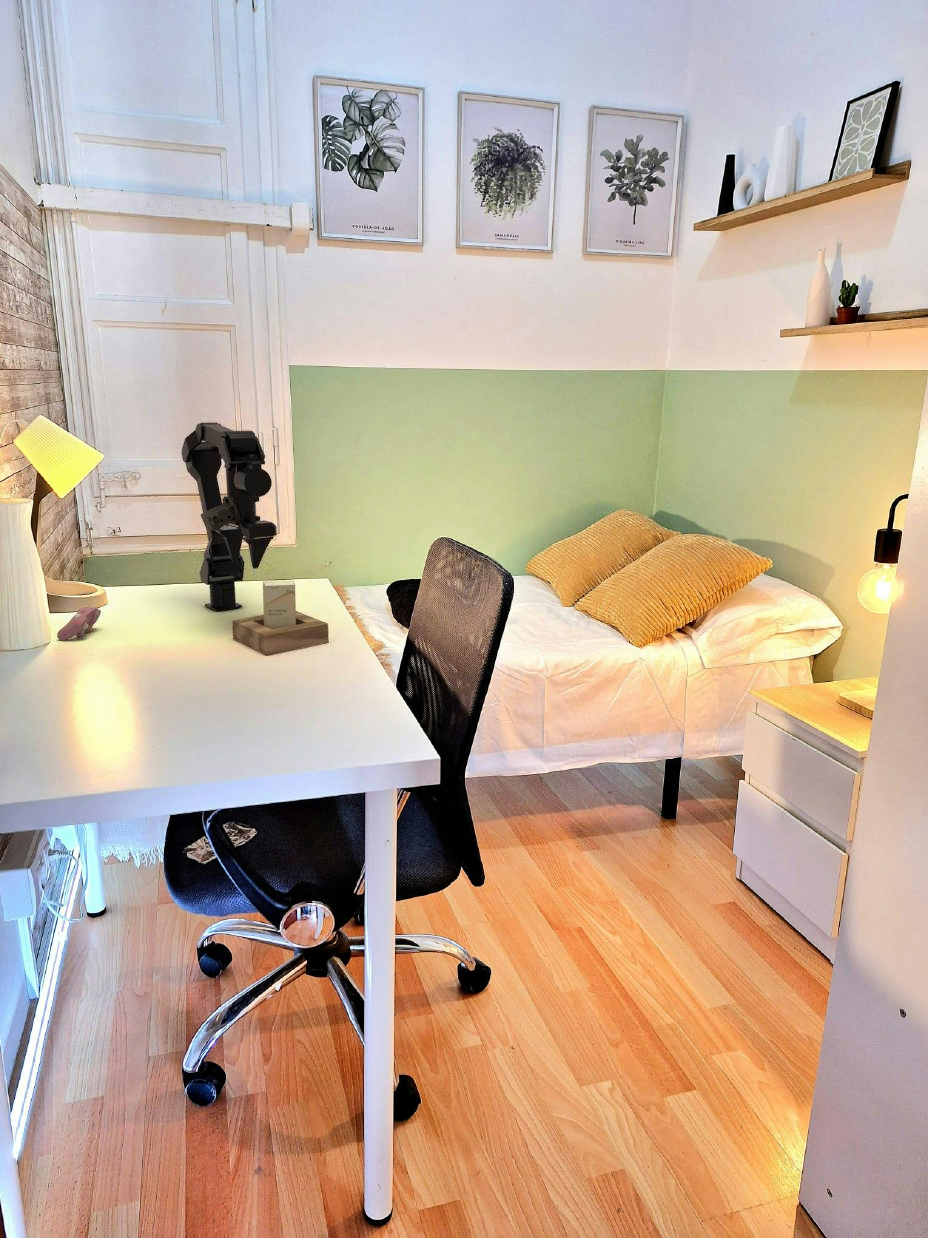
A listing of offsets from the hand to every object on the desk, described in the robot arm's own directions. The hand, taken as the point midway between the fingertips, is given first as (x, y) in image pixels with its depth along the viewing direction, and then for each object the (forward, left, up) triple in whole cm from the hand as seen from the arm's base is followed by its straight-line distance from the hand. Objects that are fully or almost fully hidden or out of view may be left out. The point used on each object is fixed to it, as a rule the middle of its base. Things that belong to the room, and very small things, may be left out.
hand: (245, 564), depth 180 cm
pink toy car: (-13, -31, -13) cm, 36 cm away
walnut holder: (+16, -1, -13) cm, 21 cm away
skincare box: (+16, -1, -13) cm, 21 cm away
